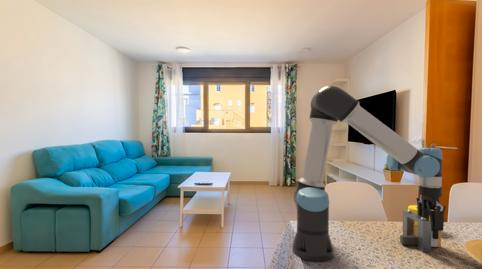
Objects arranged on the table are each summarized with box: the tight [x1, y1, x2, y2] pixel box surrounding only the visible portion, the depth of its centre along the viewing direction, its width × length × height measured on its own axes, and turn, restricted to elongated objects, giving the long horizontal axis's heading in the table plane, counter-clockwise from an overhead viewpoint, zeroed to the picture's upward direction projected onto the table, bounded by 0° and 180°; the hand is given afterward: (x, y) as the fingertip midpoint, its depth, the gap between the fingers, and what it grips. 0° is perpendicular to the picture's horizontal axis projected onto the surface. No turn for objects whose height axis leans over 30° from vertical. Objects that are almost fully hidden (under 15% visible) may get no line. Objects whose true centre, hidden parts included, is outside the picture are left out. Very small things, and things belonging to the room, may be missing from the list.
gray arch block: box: [402, 209, 432, 254], centre depth 103 cm, size 3×13×12 cm, turn 177°
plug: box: [399, 225, 442, 248], centre depth 103 cm, size 14×4×7 cm, turn 87°
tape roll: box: [407, 204, 430, 225], centre depth 122 cm, size 10×10×9 cm
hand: (429, 243), depth 103 cm, fingers closed on plug, 4 cm apart
